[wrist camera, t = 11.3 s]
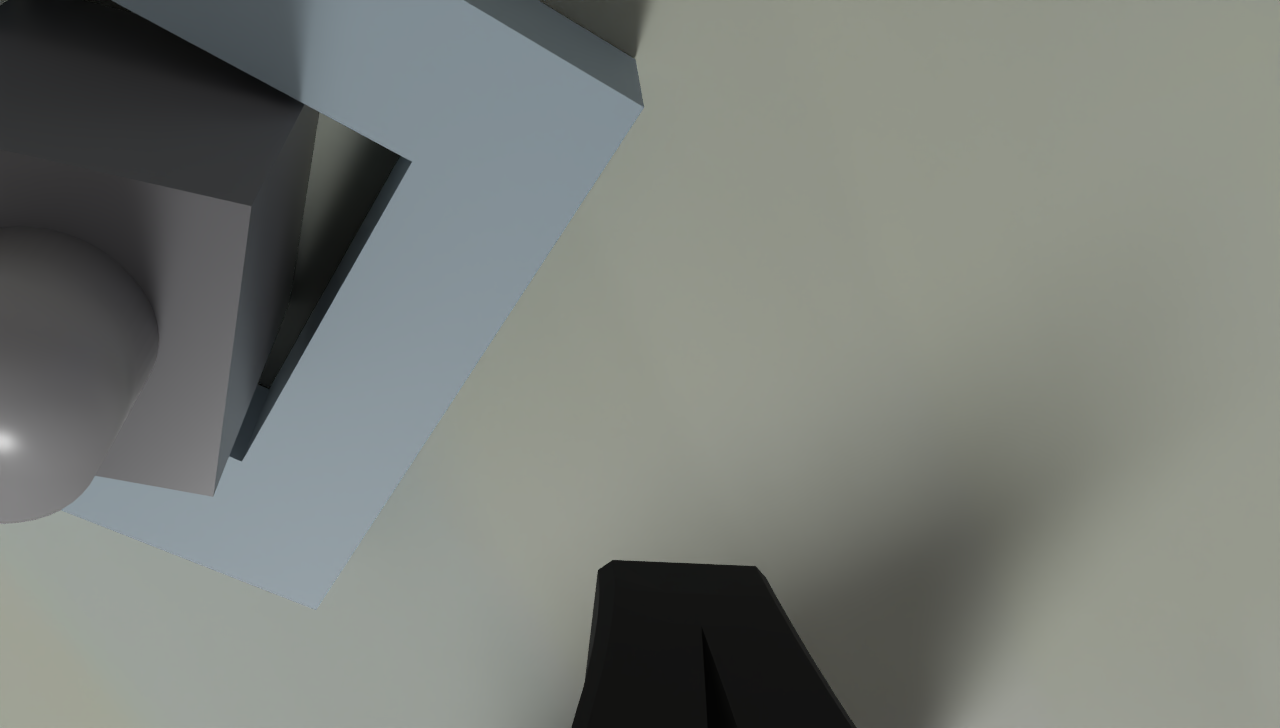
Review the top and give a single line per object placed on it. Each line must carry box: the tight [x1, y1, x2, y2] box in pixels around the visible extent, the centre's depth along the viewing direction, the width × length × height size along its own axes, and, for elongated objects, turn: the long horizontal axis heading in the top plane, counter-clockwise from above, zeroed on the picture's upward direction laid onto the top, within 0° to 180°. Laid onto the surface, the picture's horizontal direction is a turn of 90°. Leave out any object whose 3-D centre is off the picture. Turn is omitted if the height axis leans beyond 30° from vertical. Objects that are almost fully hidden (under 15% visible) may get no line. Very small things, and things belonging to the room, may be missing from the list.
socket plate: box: [62, 0, 644, 610], centre depth 17 cm, size 10×10×2 cm
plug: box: [0, 0, 319, 524], centre depth 15 cm, size 4×4×7 cm
